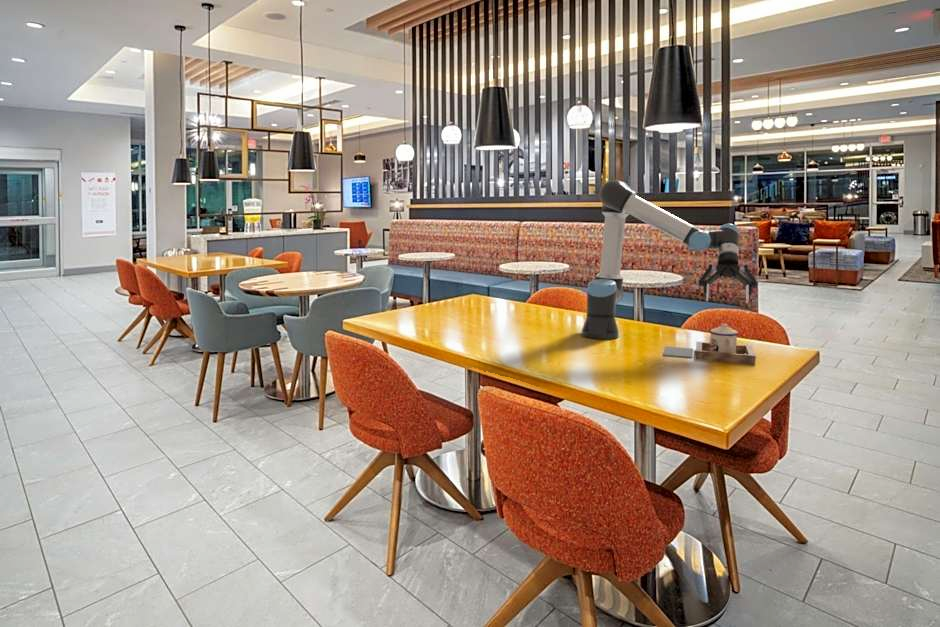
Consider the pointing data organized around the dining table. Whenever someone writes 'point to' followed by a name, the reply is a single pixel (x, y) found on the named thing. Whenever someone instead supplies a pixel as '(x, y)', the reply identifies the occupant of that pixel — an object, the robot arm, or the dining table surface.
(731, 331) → the teacup with lid
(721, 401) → the dining table surface
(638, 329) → the dining table surface
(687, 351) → the charcoal rubber mat
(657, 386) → the dining table surface
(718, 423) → the dining table surface
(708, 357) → the walnut board
